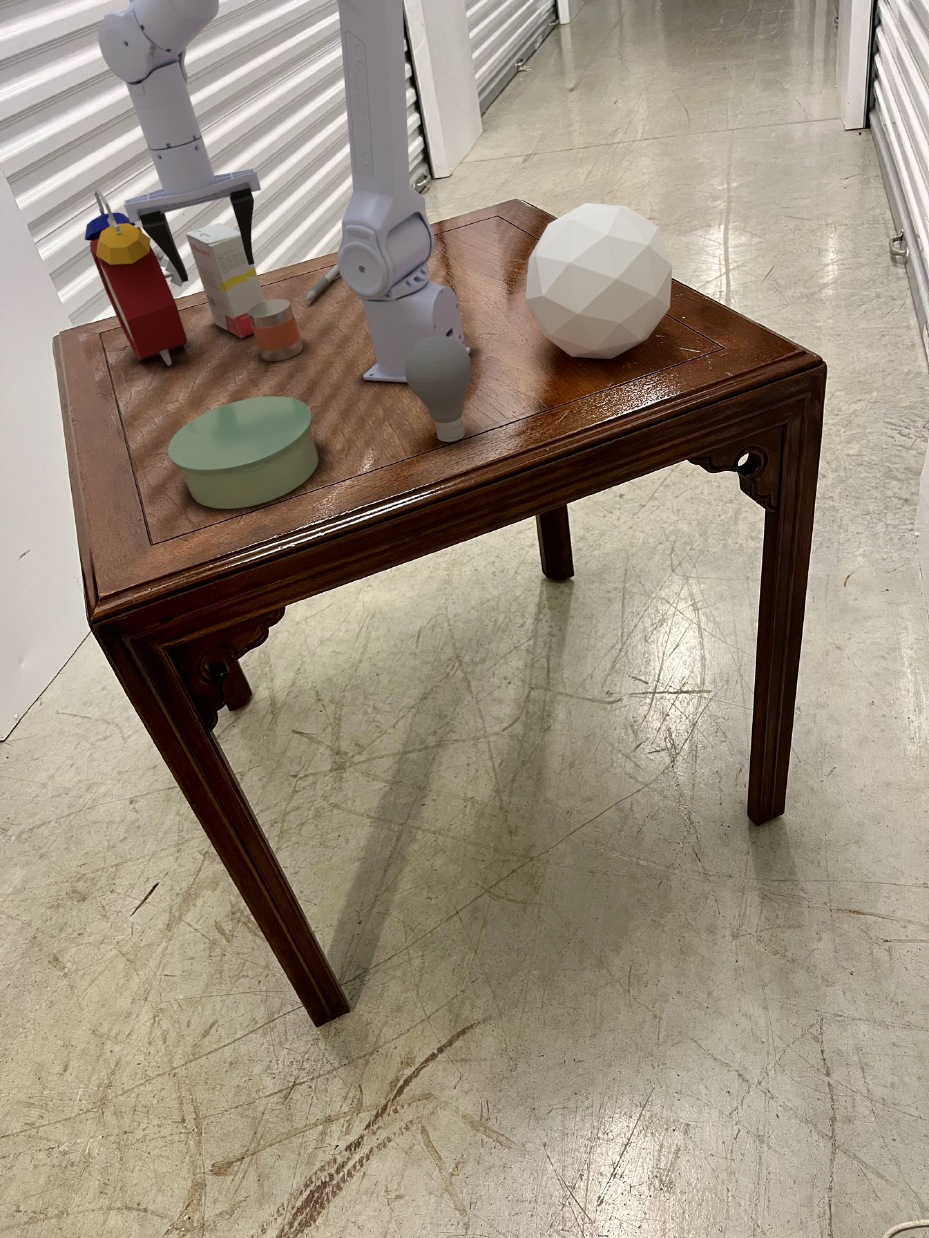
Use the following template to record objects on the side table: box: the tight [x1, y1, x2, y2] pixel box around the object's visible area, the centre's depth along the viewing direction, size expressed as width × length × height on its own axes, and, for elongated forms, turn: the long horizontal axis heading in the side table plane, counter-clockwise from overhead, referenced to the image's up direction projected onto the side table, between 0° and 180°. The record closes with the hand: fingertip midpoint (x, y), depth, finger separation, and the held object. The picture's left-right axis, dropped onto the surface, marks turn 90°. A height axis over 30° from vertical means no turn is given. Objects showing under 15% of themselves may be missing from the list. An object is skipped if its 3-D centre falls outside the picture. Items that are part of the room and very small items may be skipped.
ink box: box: [185, 222, 266, 339], centre depth 118 cm, size 9×5×12 cm, turn 35°
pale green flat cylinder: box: [167, 395, 319, 510], centre depth 89 cm, size 14×14×4 cm
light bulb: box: [405, 335, 473, 443], centre depth 86 cm, size 6×6×10 cm
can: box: [248, 298, 303, 362], centre depth 111 cm, size 5×5×6 cm
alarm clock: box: [84, 187, 188, 367], centre depth 113 cm, size 15×9×20 cm, turn 27°
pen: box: [306, 263, 341, 301], centre depth 128 cm, size 1×14×1 cm, turn 164°
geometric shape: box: [524, 202, 673, 360], centre depth 94 cm, size 14×15×15 cm
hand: (218, 270), depth 108 cm, fingers open, 7 cm apart
